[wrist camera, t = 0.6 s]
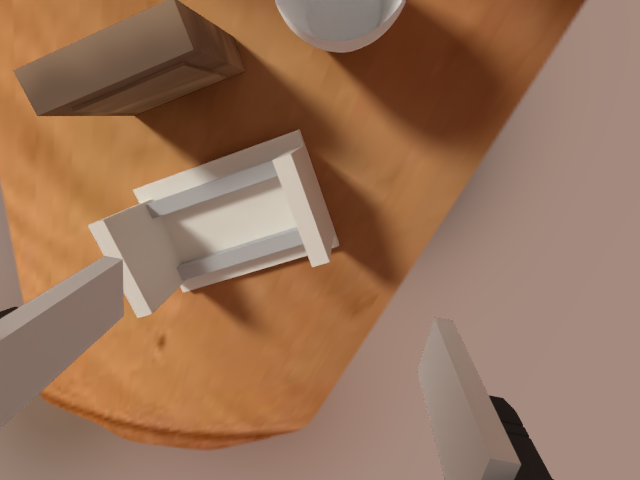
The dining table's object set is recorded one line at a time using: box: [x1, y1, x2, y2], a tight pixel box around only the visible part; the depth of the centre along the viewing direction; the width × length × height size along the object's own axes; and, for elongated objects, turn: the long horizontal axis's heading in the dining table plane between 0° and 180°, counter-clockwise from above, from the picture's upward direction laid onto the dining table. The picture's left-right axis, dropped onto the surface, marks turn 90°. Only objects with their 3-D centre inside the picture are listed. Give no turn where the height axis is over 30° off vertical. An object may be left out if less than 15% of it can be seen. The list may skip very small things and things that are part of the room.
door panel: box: [13, 0, 245, 116], centre depth 30 cm, size 3×12×12 cm, turn 109°
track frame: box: [88, 129, 339, 318], centre depth 35 cm, size 12×18×9 cm, turn 109°
